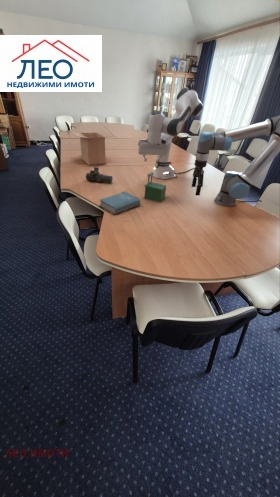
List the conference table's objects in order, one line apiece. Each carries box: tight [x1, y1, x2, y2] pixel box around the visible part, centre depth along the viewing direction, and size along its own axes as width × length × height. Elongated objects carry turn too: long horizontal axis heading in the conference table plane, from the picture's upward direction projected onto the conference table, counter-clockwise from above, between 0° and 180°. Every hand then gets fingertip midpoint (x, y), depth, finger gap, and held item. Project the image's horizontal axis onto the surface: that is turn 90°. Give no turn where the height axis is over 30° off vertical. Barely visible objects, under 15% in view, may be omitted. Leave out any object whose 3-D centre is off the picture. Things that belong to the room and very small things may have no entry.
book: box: [99, 191, 141, 215], centre depth 152 cm, size 23×16×5 cm
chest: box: [144, 186, 167, 203], centre depth 166 cm, size 13×10×9 cm
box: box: [70, 129, 114, 166], centre depth 229 cm, size 44×36×27 cm
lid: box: [143, 171, 167, 190], centre depth 161 cm, size 14×10×9 cm
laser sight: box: [85, 166, 113, 184], centre depth 186 cm, size 10×22×10 cm, turn 78°
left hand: (152, 161), depth 155 cm, fingers open, 8 cm apart
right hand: (195, 190), depth 154 cm, fingers open, 13 cm apart
